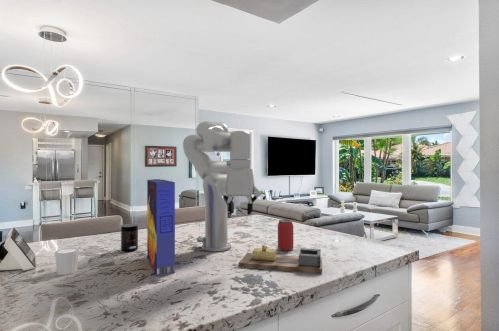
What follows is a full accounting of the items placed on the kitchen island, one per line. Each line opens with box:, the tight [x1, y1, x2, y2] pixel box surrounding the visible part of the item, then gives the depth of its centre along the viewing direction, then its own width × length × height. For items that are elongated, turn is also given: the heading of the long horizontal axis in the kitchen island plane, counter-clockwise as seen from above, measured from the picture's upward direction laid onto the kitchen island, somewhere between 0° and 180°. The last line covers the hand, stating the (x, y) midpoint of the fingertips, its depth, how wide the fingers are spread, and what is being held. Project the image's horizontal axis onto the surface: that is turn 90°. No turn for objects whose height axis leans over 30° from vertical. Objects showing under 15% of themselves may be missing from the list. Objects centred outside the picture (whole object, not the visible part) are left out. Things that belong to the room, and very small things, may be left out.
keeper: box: [298, 247, 322, 267], centre depth 102 cm, size 7×9×4 cm
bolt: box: [252, 244, 278, 261], centre depth 106 cm, size 8×4×5 cm, turn 76°
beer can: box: [277, 219, 294, 252], centre depth 124 cm, size 7×7×12 cm
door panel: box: [238, 252, 323, 275], centre depth 105 cm, size 28×12×2 cm, turn 76°
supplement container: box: [120, 223, 139, 253], centre depth 123 cm, size 7×7×10 cm
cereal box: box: [146, 178, 176, 277], centre depth 105 cm, size 22×6×30 cm, turn 26°
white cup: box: [54, 247, 80, 276], centre depth 98 cm, size 7×7×7 cm
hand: (240, 213), depth 109 cm, fingers open, 6 cm apart
